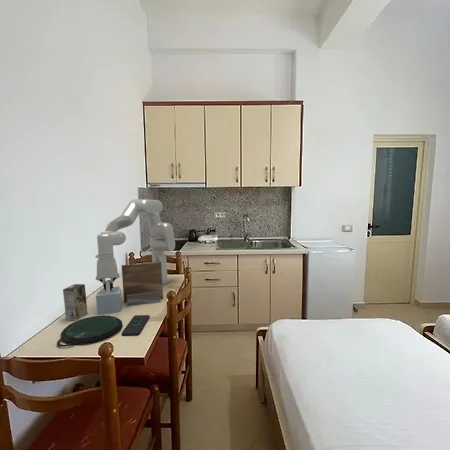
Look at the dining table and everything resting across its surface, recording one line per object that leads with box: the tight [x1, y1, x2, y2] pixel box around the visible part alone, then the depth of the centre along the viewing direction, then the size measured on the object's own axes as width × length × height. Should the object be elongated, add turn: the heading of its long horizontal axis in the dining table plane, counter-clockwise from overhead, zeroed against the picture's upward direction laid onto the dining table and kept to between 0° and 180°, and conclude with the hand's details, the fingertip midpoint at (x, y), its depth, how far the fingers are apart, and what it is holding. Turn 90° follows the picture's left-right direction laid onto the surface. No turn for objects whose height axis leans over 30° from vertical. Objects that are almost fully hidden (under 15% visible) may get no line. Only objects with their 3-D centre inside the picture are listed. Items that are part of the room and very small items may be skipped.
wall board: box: [121, 262, 164, 307], centre depth 178 cm, size 7×22×22 cm, turn 106°
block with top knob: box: [95, 279, 123, 315], centre depth 170 cm, size 12×12×16 cm
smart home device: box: [121, 314, 151, 337], centre depth 149 cm, size 8×2×20 cm
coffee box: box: [62, 283, 88, 321], centre depth 161 cm, size 9×6×16 cm
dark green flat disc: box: [56, 315, 123, 348], centre depth 143 cm, size 26×3×30 cm
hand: (108, 289), depth 168 cm, fingers closed on block with top knob
